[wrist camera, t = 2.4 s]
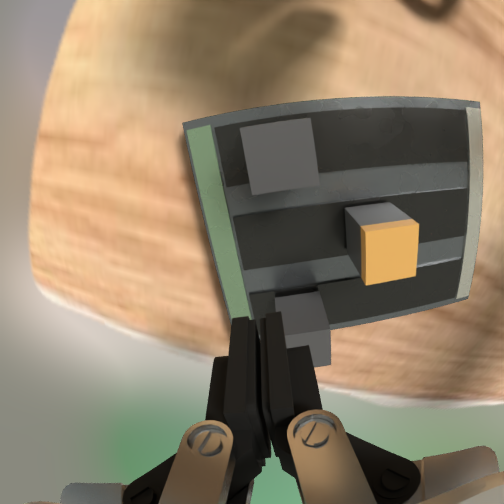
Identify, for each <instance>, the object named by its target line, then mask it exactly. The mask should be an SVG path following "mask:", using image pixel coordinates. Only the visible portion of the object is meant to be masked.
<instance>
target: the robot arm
mask: <svg viewBox="0 0 504 504" xmlns="http://www.w3.org/2000/svg"><path fill="white" fill-rule="evenodd" d="M265 317H266V318H260V338H259V334H258V329H257V325H256V320H255V319H253V320H250V319H249V316H244V317H236V318H232V325H231V335H230V345H229V356H223V357H215V359H214V362H213V369H212V377H211V383H210V390H209V397H208V404H207V411H206V419H205V421H201V422H198V423H196V424H194V425H192V426H191V427H190V428H189V429H188V430H187V431H186V432H185V434H184V435H183V437H182V440H181V443H180V445H179V448H178V451H177V453H176V454H174V455H173V456H171V457H170V458H168V459H167V460H166V461H164V462H163V463H161V464H160V465H158V466H157V467H155V468H153V469H152V470H151V471H149V472H147V473H146V474H144V475H143V476H141V477H139V478H138V479H136V480H135V481H133V482H132V483H131V484H129V485H123V484H122V483H70V484H69V485H67V486H66V487H65V488H64V489H63V491H62V494H61V501H60V504H250V501H251V496H252V490H253V485H254V478H255V477H256V476H257V475H258V474H260V473H261V472H262V466H265V458H271V442H272V445H273V448H274V452H275V455H276V457H279V459H280V463H281V466H282V469H283V470H284V471H285V472H287V473H288V474H290V475H291V476H293V477H294V478H295V479H296V482H297V486H298V489H299V493H300V496H301V500H302V503H303V504H504V471H503V472H499V466H498V460H497V456H496V454H495V452H494V451H493V450H492V449H491V448H489V447H486V446H476V447H473V448H468V449H464V450H460V451H456V452H451V453H446V454H440V455H435V456H429V457H424V458H423V459H422V460H417V461H410V460H408V459H406V458H403V457H401V456H398V455H396V454H394V453H391V452H388V451H386V450H384V449H382V448H379V447H377V446H375V445H373V444H371V443H368V442H366V441H364V440H362V439H359V438H357V437H355V436H353V435H351V434H349V433H347V432H345V429H344V427H343V425H342V423H341V421H340V420H339V418H338V417H337V416H335V415H334V414H333V413H331V412H328V411H325V410H323V409H322V404H321V399H320V394H319V389H318V385H317V380H316V375H315V370H314V366H313V361H312V356H311V352H310V347H309V345H306V346H300V347H293V348H287V346H286V340H285V333H284V326H283V320H282V313H281V311H279V312H272V313H266V314H265ZM24 504H59V503H53V502H43V501H37V502H28V503H24Z"/></svg>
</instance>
